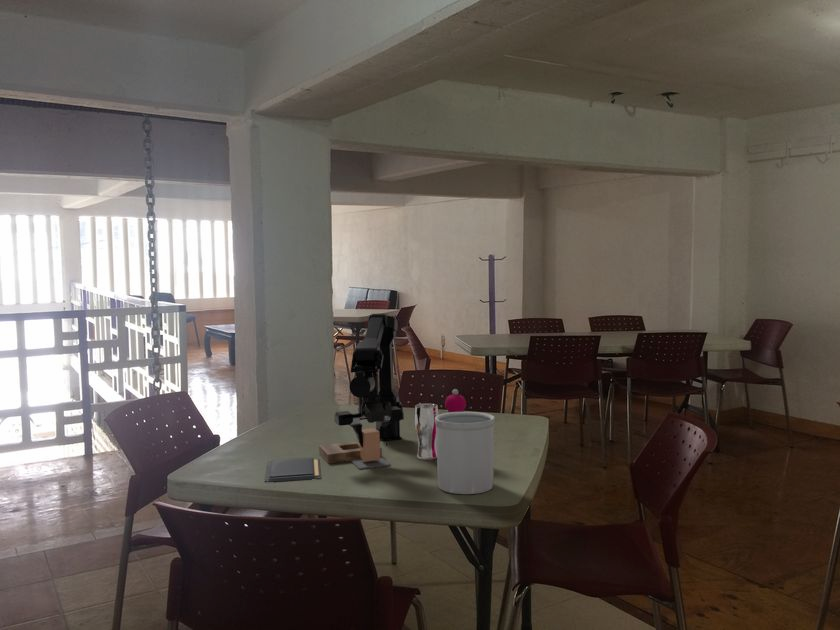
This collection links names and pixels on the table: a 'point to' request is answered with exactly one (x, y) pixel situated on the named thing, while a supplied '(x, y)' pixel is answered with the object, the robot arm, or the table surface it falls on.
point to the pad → (370, 463)
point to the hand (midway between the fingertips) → (369, 445)
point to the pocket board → (341, 452)
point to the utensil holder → (465, 452)
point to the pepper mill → (455, 402)
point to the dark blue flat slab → (293, 470)
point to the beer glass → (426, 430)
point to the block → (370, 445)
